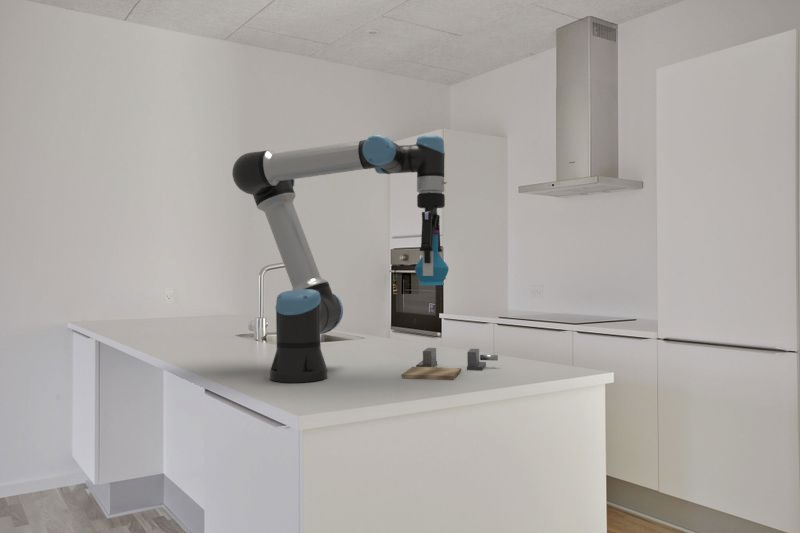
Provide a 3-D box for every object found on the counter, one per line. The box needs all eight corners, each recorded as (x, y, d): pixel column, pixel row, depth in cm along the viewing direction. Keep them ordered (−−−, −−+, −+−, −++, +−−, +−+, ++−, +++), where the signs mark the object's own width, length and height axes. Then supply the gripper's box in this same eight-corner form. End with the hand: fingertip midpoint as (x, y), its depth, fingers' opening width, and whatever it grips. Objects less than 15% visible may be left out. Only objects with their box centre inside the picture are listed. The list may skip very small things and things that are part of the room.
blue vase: (426, 284, 189) (426, 231, 189) (454, 284, 184) (454, 230, 184) (408, 285, 182) (408, 229, 182) (436, 285, 176) (436, 228, 176)
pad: (401, 378, 178) (401, 374, 178) (412, 370, 191) (412, 366, 191) (453, 379, 174) (453, 376, 174) (461, 371, 188) (461, 367, 188)
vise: (416, 368, 194) (415, 351, 194) (422, 363, 204) (422, 347, 204) (496, 370, 189) (496, 353, 189) (499, 365, 199) (499, 348, 199)
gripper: (437, 188, 171) (438, 276, 171) (450, 196, 193) (451, 274, 193) (408, 189, 173) (409, 276, 173) (424, 197, 194) (425, 275, 194)
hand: (431, 275), depth 183 cm, fingers closed on blue vase, 9 cm apart
